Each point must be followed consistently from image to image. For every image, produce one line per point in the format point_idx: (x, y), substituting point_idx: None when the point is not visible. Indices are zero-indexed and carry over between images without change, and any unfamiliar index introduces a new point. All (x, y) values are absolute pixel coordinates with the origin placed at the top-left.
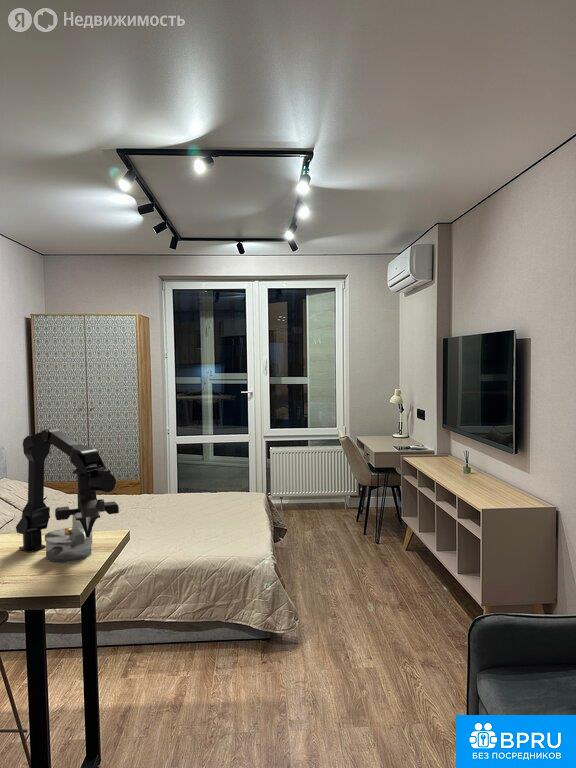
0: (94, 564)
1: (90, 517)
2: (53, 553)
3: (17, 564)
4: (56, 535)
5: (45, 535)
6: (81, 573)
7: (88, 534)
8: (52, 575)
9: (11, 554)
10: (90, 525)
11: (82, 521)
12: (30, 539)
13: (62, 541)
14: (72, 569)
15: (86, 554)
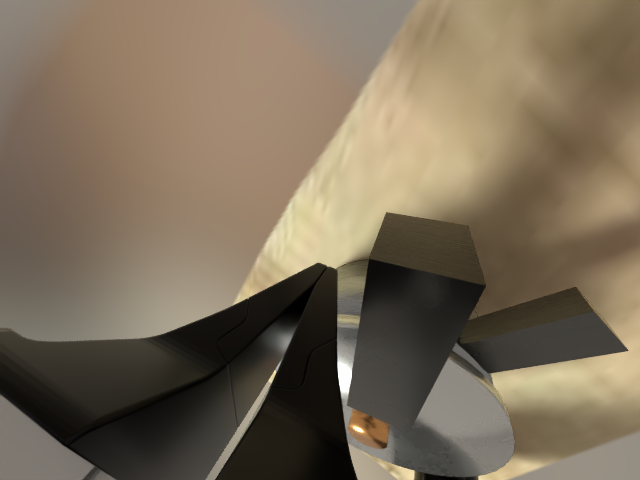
0: (353, 165)
1: (124, 453)
2: (589, 304)
3: (608, 399)
4: (433, 437)
5: (475, 473)
6: (480, 54)
7: (315, 274)
8: None
9: (529, 456)
10: (248, 324)
11: (316, 463)
12: (466, 477)
13: (465, 370)
14: (474, 170)
15: (345, 270)
